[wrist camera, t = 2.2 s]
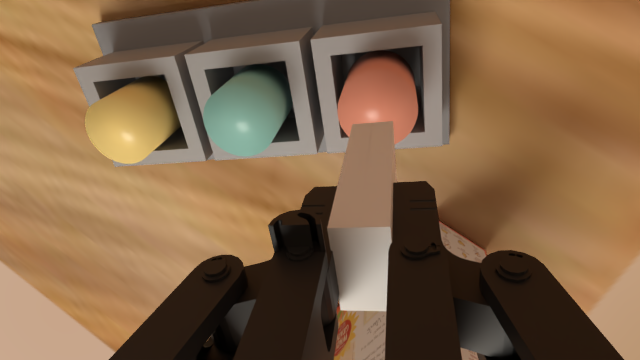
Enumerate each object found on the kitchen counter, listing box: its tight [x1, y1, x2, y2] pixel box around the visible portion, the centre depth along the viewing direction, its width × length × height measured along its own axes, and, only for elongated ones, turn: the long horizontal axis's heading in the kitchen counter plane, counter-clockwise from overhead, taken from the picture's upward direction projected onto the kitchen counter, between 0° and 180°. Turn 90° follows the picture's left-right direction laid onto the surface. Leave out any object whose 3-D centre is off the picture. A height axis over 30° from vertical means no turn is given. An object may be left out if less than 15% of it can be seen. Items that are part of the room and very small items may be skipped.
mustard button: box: [85, 76, 181, 164], centre depth 25 cm, size 4×4×4 cm
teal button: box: [203, 64, 293, 156], centre depth 23 cm, size 4×4×4 cm
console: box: [73, 0, 450, 167], centre depth 26 cm, size 22×10×5 cm, turn 99°
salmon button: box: [337, 50, 418, 144], centre depth 22 cm, size 4×4×4 cm
